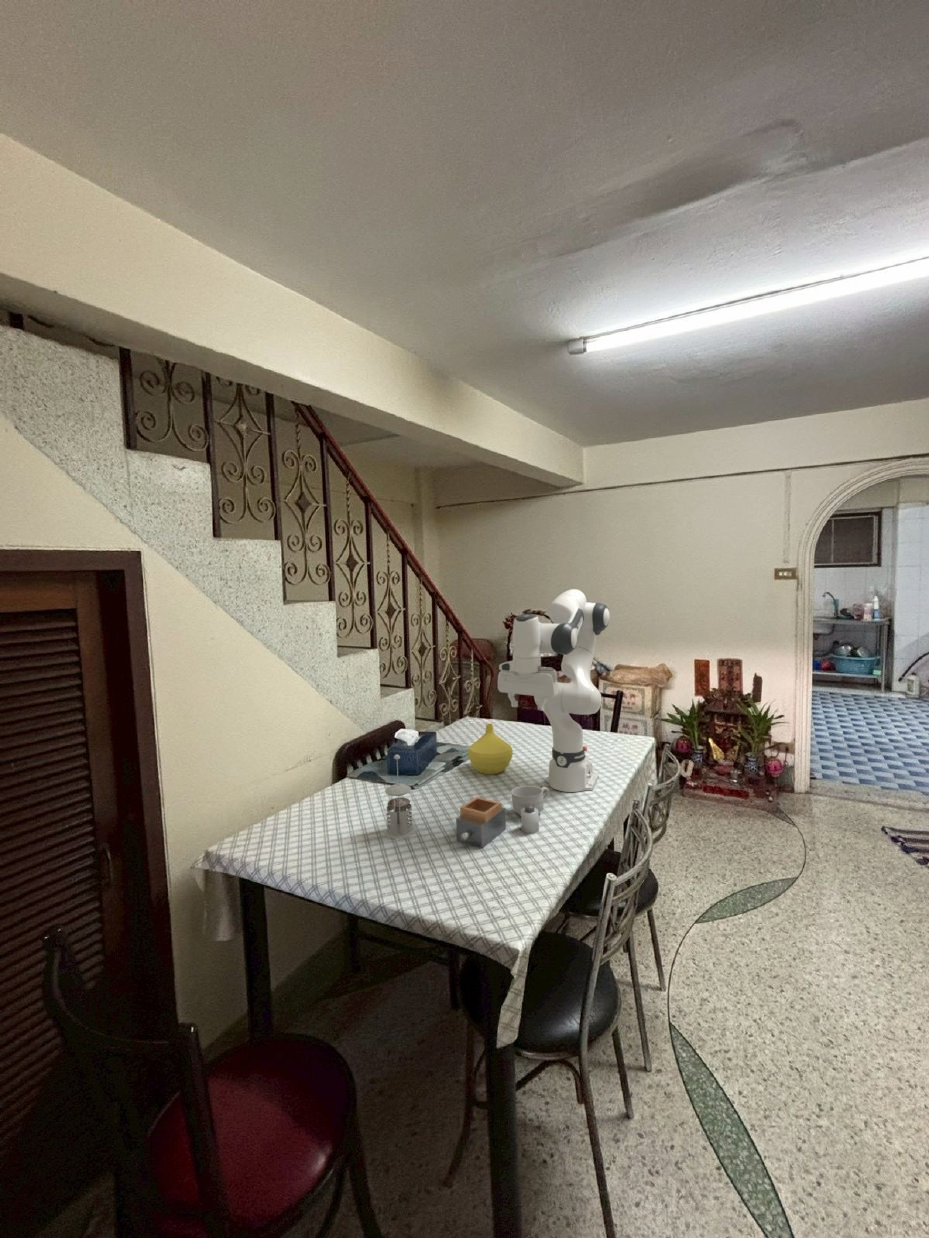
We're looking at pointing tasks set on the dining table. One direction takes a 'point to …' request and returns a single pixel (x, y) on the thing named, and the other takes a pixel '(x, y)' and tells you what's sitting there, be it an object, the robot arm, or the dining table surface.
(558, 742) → the robot arm
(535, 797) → the teacup
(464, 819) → the grey box with knob
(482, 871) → the dining table surface
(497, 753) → the vase
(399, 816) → the french press
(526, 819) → the light grey rounded bottle
